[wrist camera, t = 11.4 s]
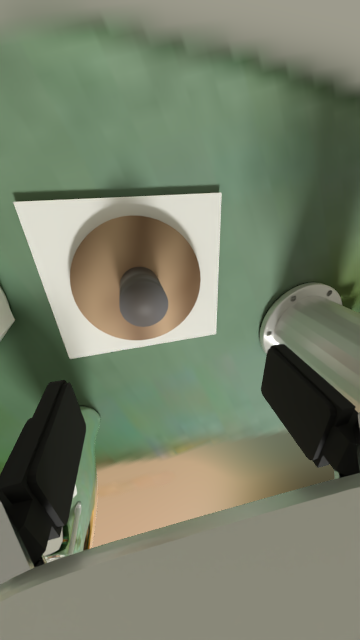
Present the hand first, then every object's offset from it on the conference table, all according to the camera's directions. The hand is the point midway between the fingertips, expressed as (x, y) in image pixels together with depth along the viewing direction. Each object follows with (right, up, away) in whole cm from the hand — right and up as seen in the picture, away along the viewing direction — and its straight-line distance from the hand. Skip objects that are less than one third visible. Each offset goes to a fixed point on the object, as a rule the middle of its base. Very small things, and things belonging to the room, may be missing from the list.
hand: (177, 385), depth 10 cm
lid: (-4, +7, +13) cm, 15 cm away
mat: (-4, +7, +13) cm, 16 cm away
